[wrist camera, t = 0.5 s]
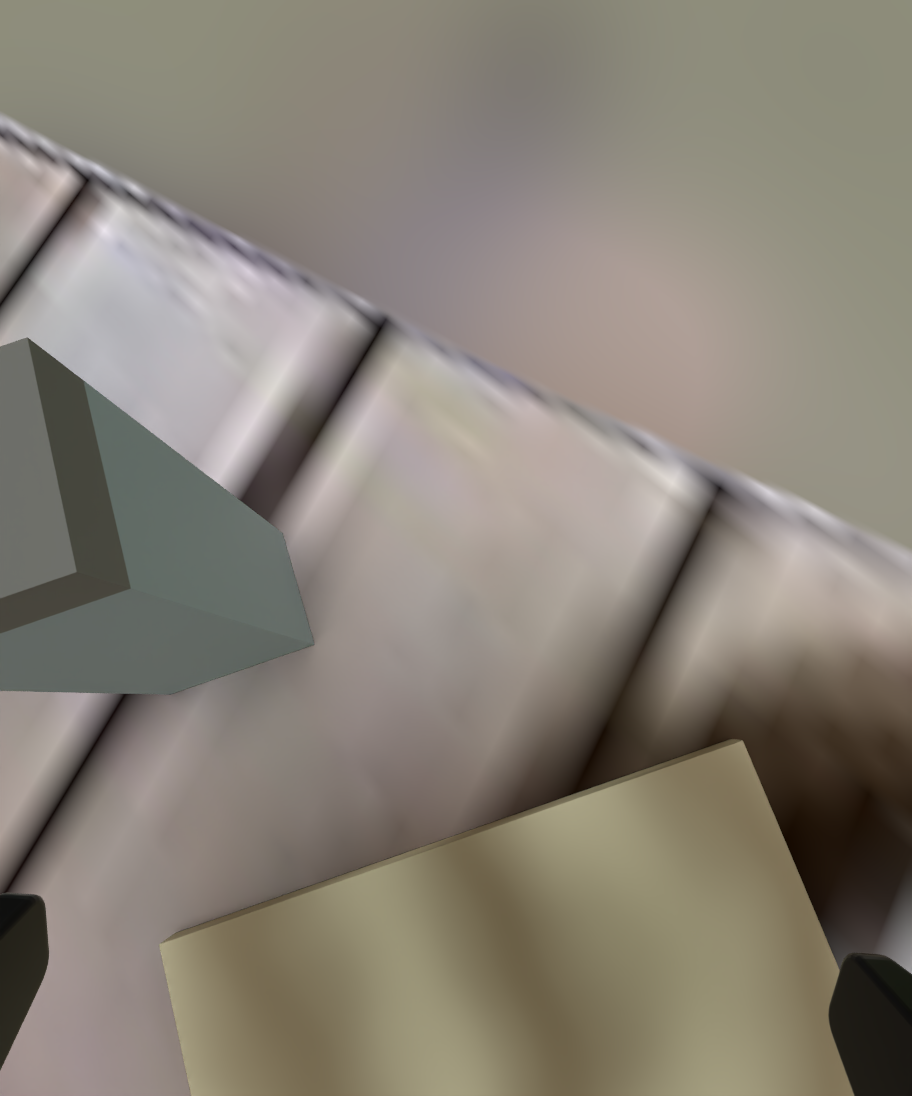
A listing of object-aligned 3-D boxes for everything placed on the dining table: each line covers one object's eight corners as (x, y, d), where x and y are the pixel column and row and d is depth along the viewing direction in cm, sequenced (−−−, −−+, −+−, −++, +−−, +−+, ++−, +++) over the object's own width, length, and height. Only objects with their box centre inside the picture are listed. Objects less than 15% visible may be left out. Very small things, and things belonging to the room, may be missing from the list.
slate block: (169, 694, 23) (-253, 685, 10) (143, 581, 24) (-275, 440, 11) (314, 644, 23) (76, 572, 10) (282, 533, 24) (26, 337, 11)
